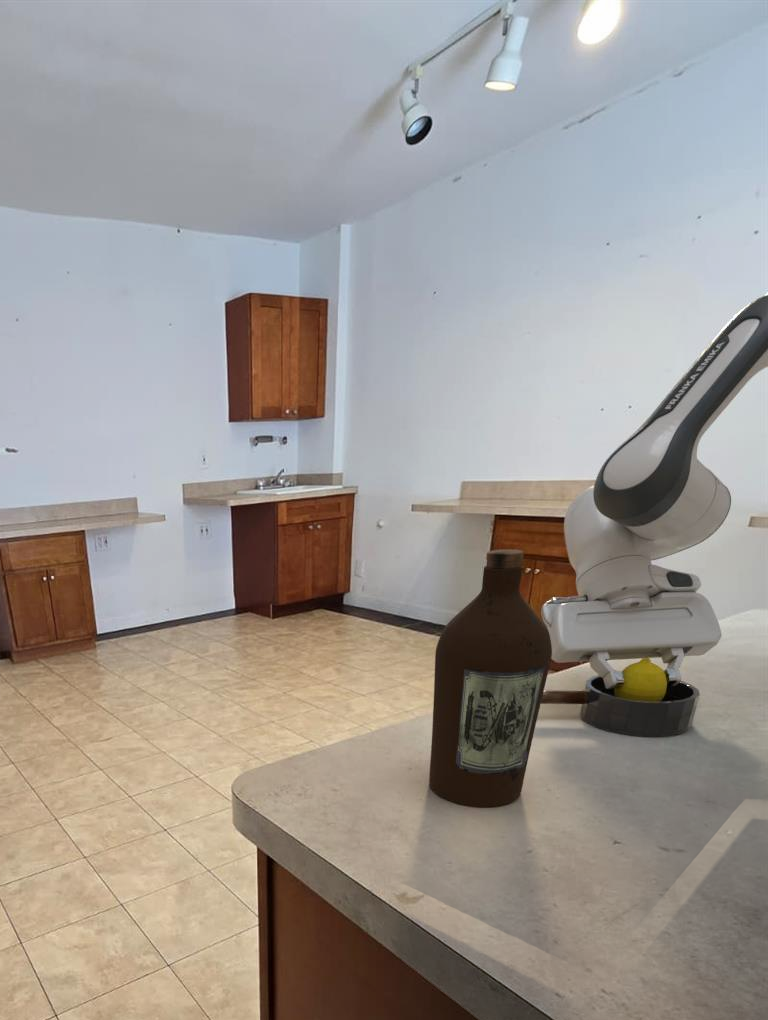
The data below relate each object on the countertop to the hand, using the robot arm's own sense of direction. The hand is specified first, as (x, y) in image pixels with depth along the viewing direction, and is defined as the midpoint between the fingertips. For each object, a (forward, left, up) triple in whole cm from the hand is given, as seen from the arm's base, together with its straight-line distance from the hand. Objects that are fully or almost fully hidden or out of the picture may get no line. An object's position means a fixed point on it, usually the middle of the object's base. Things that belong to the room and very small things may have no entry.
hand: (643, 685), depth 82 cm
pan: (0, -1, -5) cm, 5 cm away
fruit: (0, -1, -5) cm, 5 cm away
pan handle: (+11, -1, -3) cm, 11 cm away
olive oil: (+23, +21, -5) cm, 32 cm away
